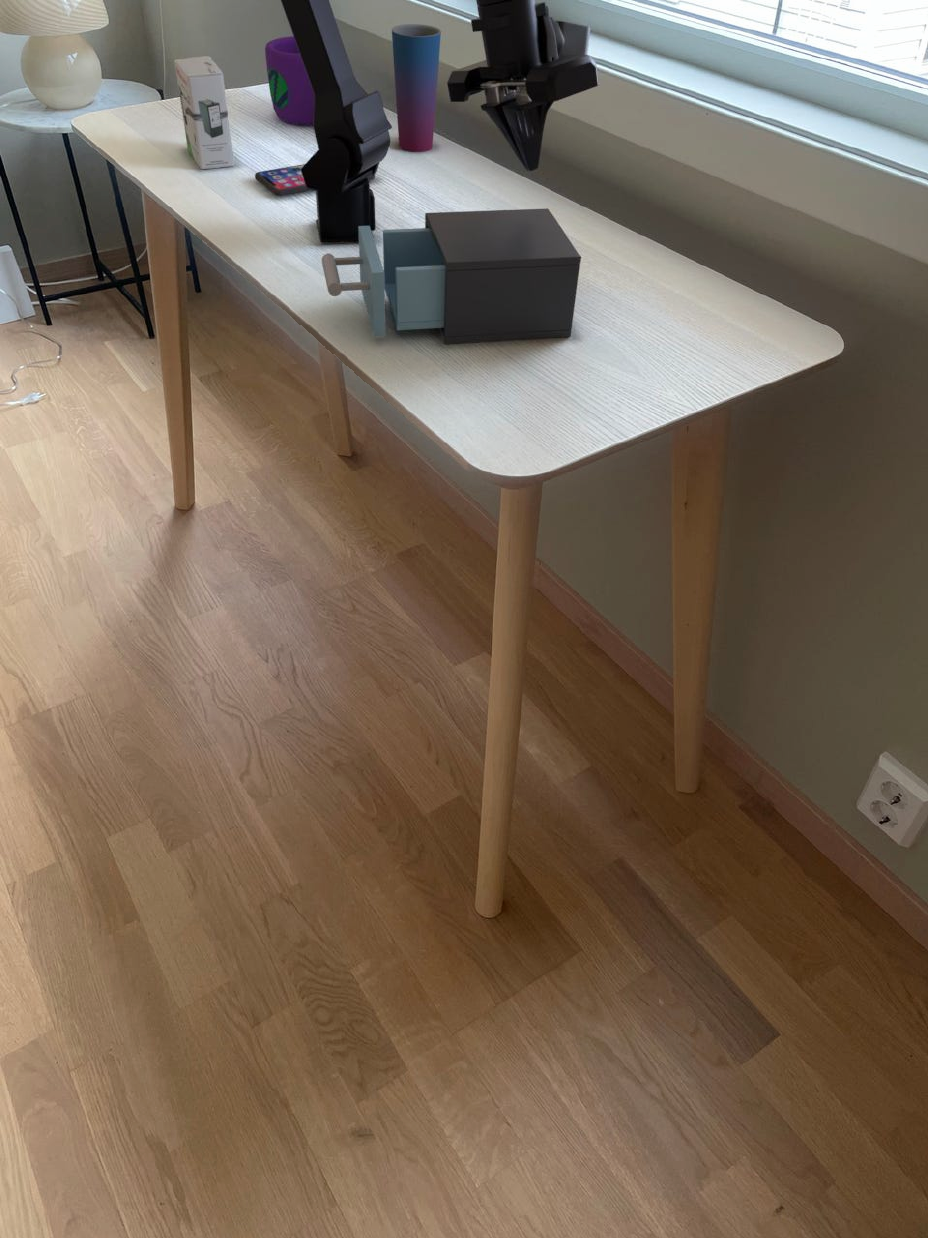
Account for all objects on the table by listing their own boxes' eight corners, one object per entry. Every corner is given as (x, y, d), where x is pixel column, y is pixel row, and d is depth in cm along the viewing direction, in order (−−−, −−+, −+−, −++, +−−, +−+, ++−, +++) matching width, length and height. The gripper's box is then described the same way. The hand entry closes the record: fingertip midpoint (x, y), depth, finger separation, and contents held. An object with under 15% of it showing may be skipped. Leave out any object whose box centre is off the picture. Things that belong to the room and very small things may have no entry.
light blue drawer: (332, 340, 93) (328, 274, 88) (322, 289, 101) (318, 227, 96) (493, 330, 96) (497, 266, 91) (471, 282, 104) (474, 221, 99)
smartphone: (377, 173, 127) (276, 191, 121) (377, 180, 128) (277, 198, 121) (351, 155, 131) (252, 171, 125) (351, 162, 132) (253, 179, 126)
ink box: (186, 149, 133) (171, 56, 125) (220, 146, 135) (208, 54, 126) (200, 170, 128) (186, 74, 119) (236, 166, 129) (224, 71, 121)
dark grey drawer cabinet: (444, 344, 95) (446, 262, 89) (424, 290, 104) (425, 212, 98) (570, 336, 98) (581, 256, 92) (540, 284, 106) (548, 207, 100)
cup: (404, 155, 135) (404, 37, 125) (385, 141, 139) (383, 25, 129) (446, 150, 137) (449, 34, 127) (426, 136, 142) (427, 22, 131)
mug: (257, 113, 146) (249, 41, 139) (315, 101, 152) (311, 31, 145) (322, 144, 137) (318, 68, 130) (382, 130, 143) (381, 56, 136)
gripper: (632, -31, 86) (647, 150, 95) (516, -14, 99) (539, 143, 109) (538, -1, 82) (563, 184, 91) (430, 13, 96) (462, 173, 105)
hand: (532, 169), depth 99 cm, fingers closed
